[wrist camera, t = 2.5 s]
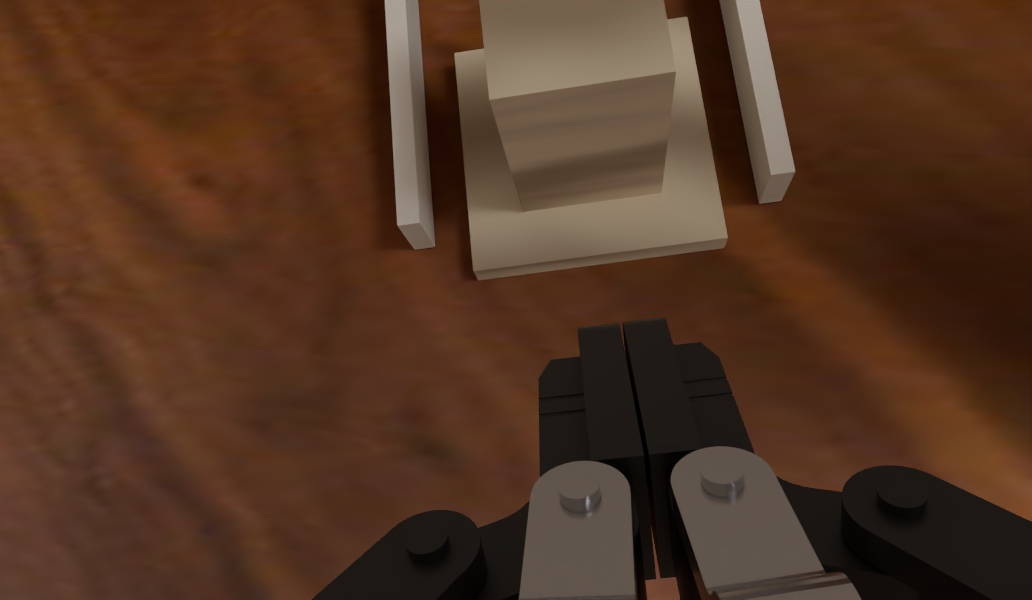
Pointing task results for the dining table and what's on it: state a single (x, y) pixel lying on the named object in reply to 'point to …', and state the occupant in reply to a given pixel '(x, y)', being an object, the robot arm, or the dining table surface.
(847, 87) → the dining table surface
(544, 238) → the pawn block
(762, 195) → the ladder rail frame
